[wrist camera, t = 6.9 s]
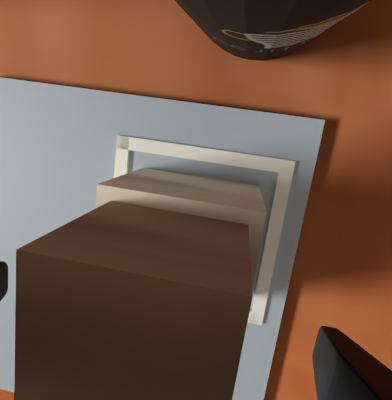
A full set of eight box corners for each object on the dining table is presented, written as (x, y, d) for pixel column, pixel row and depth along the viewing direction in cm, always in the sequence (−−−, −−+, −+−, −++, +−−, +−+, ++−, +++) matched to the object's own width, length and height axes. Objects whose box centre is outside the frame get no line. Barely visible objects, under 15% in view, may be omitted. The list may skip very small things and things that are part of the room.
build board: (251, 441, 18) (252, 455, 17) (-3, 378, 20) (-13, 389, 19) (322, 120, 14) (326, 119, 13) (-5, 77, 16) (-18, 74, 15)
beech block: (239, 293, 16) (237, 364, 11) (132, 273, 16) (87, 331, 12) (258, 185, 15) (266, 212, 10) (143, 167, 15) (96, 184, 10)
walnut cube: (225, 348, 11) (213, 491, 7) (101, 321, 11) (14, 437, 7) (248, 224, 10) (252, 296, 6) (111, 200, 10) (16, 249, 6)
